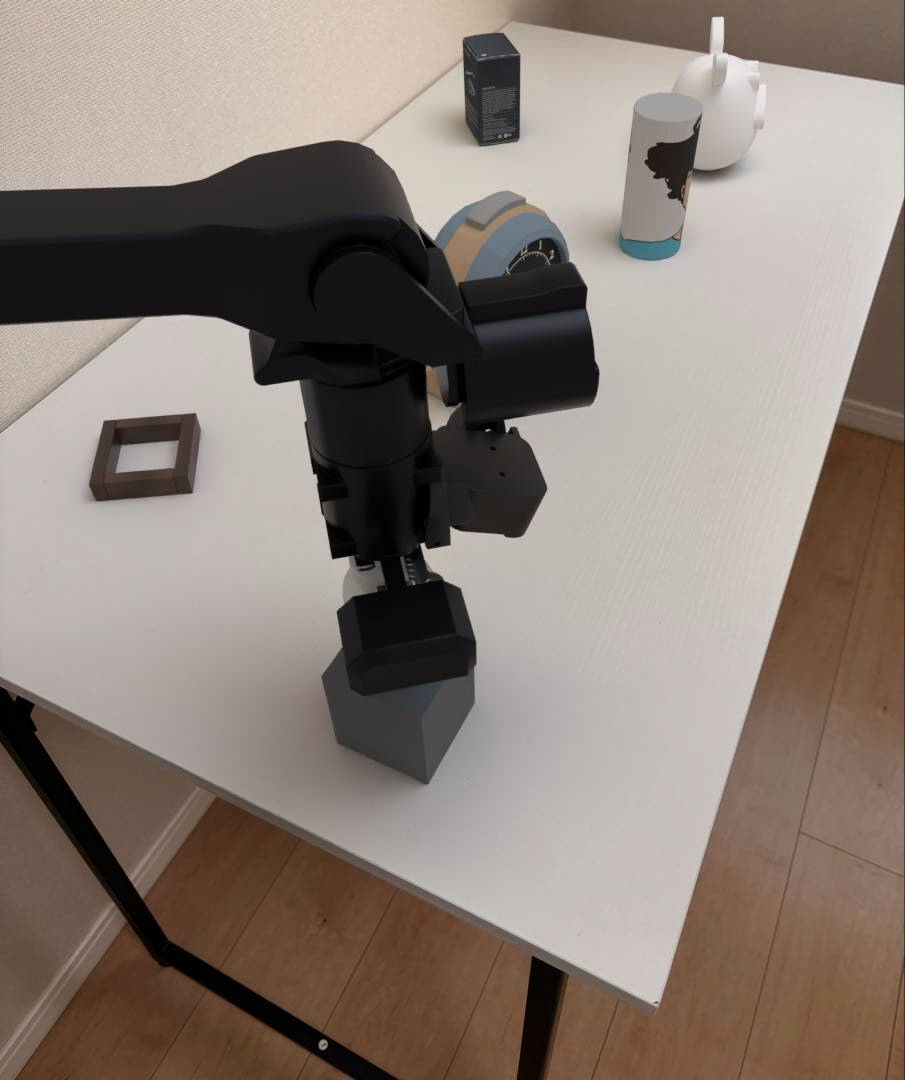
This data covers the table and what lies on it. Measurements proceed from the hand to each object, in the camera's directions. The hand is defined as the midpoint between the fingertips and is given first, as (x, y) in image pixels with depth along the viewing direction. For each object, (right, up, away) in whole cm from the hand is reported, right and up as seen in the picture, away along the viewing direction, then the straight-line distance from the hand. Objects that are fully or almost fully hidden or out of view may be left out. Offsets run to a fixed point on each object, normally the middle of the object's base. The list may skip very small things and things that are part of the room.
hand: (393, 625), depth 56 cm
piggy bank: (+35, +52, +60) cm, 87 cm away
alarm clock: (+8, +21, +34) cm, 40 cm away
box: (+9, +59, +68) cm, 90 cm away
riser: (0, -7, +8) cm, 11 cm away
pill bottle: (0, -2, +2) cm, 3 cm away
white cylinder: (+25, +38, +48) cm, 66 cm away
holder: (-23, +12, +26) cm, 37 cm away
